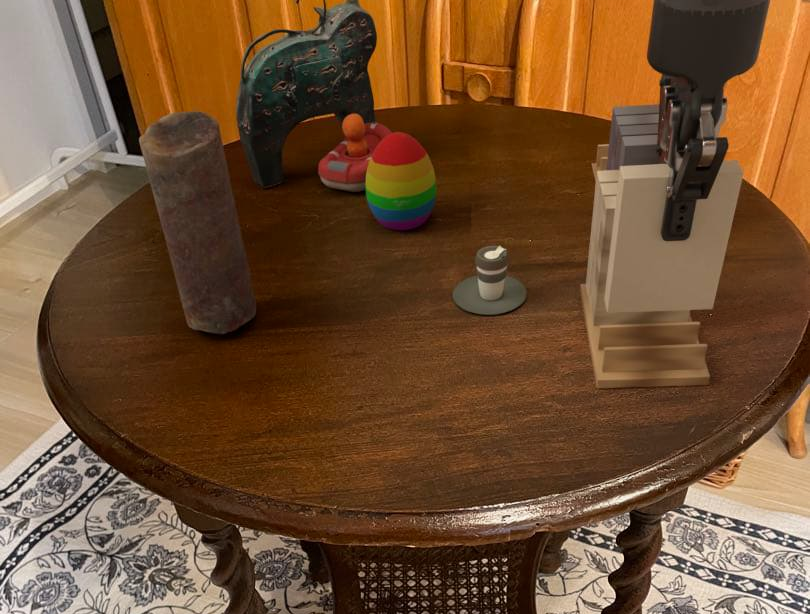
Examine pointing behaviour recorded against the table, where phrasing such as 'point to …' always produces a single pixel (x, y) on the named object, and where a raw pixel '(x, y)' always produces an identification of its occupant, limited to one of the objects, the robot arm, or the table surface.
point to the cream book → (667, 243)
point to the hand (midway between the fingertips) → (671, 228)
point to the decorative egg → (400, 182)
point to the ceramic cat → (304, 83)
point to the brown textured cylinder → (199, 220)
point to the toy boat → (352, 155)
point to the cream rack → (633, 320)
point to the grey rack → (630, 138)
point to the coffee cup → (490, 285)
